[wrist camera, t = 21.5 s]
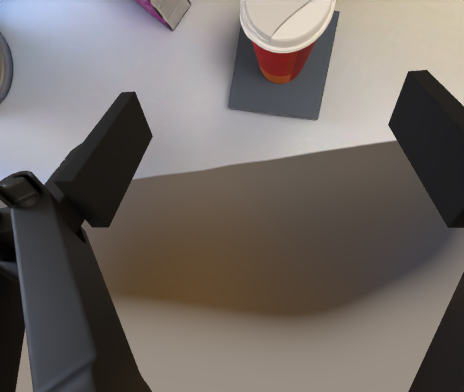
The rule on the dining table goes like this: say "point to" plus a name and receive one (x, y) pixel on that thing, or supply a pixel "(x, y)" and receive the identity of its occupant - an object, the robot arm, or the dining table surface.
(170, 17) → the candy bar box
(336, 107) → the dining table surface
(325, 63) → the stand
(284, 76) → the paper cup
